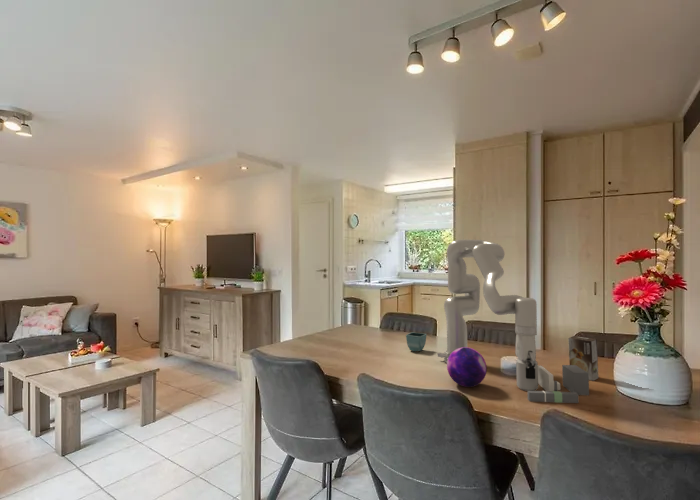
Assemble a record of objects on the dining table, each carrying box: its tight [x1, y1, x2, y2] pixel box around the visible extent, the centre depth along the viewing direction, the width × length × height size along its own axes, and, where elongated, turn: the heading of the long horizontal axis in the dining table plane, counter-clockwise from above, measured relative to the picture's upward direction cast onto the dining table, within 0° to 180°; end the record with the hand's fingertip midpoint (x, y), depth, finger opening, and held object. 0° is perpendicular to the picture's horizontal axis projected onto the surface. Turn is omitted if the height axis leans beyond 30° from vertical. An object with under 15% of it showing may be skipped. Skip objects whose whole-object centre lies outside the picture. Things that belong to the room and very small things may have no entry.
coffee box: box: [568, 335, 599, 381], centre depth 155 cm, size 9×6×16 cm
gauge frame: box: [526, 364, 590, 404], centre depth 137 cm, size 23×18×8 cm
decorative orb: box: [446, 346, 487, 388], centre depth 147 cm, size 15×15×15 cm
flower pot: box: [405, 331, 427, 352], centre depth 203 cm, size 9×9×9 cm
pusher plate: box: [538, 365, 561, 391], centre depth 139 cm, size 6×16×7 cm, turn 172°
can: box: [515, 357, 539, 392], centre depth 143 cm, size 8×8×12 cm
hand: (526, 374), depth 143 cm, fingers open, 9 cm apart
